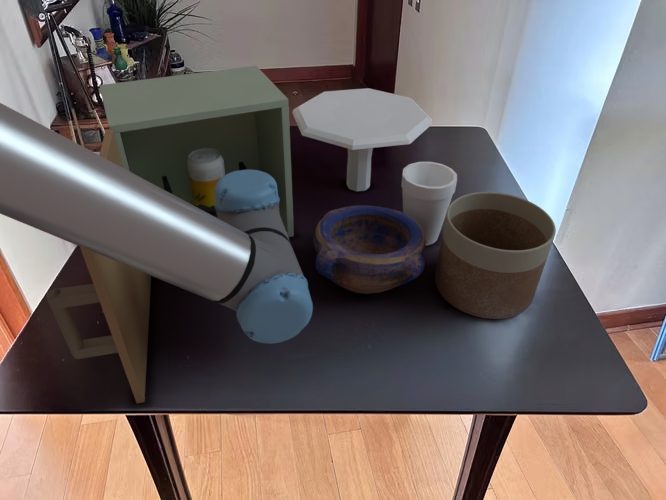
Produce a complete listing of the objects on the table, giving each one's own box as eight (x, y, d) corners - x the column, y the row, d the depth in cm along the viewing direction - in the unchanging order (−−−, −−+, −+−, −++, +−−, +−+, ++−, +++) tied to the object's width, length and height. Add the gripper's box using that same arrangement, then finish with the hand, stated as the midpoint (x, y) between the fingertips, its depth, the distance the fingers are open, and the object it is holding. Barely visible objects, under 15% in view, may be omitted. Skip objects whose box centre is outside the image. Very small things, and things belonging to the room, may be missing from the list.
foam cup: (399, 250, 93) (406, 188, 85) (392, 221, 100) (398, 161, 92) (451, 250, 93) (463, 188, 85) (440, 221, 101) (451, 161, 93)
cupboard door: (88, 412, 65) (13, 249, 49) (108, 279, 85) (59, 133, 70) (144, 402, 67) (88, 240, 51) (151, 273, 87) (113, 128, 71)
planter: (532, 332, 77) (558, 261, 69) (427, 309, 81) (439, 239, 73) (532, 268, 89) (554, 200, 81) (440, 250, 93) (452, 184, 85)
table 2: (279, 214, 102) (274, 136, 91) (307, 150, 124) (305, 81, 113) (422, 229, 98) (433, 149, 88) (424, 160, 120) (434, 90, 110)
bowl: (416, 245, 94) (422, 199, 88) (423, 315, 80) (432, 265, 74) (318, 240, 95) (318, 194, 89) (308, 308, 81) (307, 259, 75)
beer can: (200, 219, 98) (187, 147, 88) (232, 218, 98) (223, 146, 89) (197, 238, 93) (183, 164, 84) (231, 236, 93) (221, 163, 84)
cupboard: (294, 236, 96) (288, 99, 80) (147, 271, 87) (108, 125, 71) (266, 192, 108) (256, 65, 92) (135, 219, 100) (99, 84, 83)
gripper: (154, 281, 75) (136, 207, 90) (313, 241, 83) (271, 180, 98) (144, 240, 70) (126, 169, 86) (313, 202, 79) (269, 144, 94)
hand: (204, 175), depth 92 cm, fingers open, 13 cm apart
